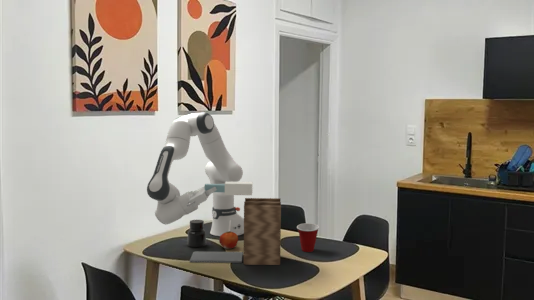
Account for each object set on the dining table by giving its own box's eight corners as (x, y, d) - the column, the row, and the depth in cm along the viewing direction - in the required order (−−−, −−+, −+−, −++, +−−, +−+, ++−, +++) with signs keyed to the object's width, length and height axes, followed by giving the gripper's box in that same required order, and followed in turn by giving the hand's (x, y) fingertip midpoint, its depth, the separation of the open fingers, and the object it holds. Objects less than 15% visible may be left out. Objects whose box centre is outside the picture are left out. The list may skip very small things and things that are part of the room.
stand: (243, 264, 222) (243, 203, 219) (245, 254, 236) (245, 196, 233) (280, 264, 222) (281, 203, 219) (279, 254, 236) (280, 197, 233)
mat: (189, 262, 224) (189, 260, 224) (193, 253, 237) (193, 251, 237) (241, 262, 224) (241, 260, 224) (243, 253, 237) (243, 251, 237)
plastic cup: (292, 251, 241) (292, 227, 240) (301, 245, 251) (302, 222, 249) (313, 255, 236) (314, 230, 235) (322, 249, 246) (322, 224, 244)
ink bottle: (208, 242, 254) (208, 219, 253) (204, 248, 245) (204, 223, 244) (189, 242, 255) (189, 218, 254) (184, 247, 246) (184, 223, 245)
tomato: (235, 251, 241) (235, 234, 240) (216, 249, 243) (216, 233, 242) (240, 245, 250) (240, 229, 249) (222, 244, 252) (222, 228, 251)
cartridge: (204, 194, 223) (204, 183, 222) (205, 192, 229) (205, 181, 228) (251, 195, 223) (252, 184, 222) (252, 192, 229) (252, 181, 228)
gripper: (182, 200, 215) (210, 184, 215) (189, 191, 236) (215, 177, 235) (189, 213, 216) (217, 197, 215) (196, 203, 236) (222, 189, 236)
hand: (216, 187), depth 225 cm, fingers closed on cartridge, 3 cm apart
